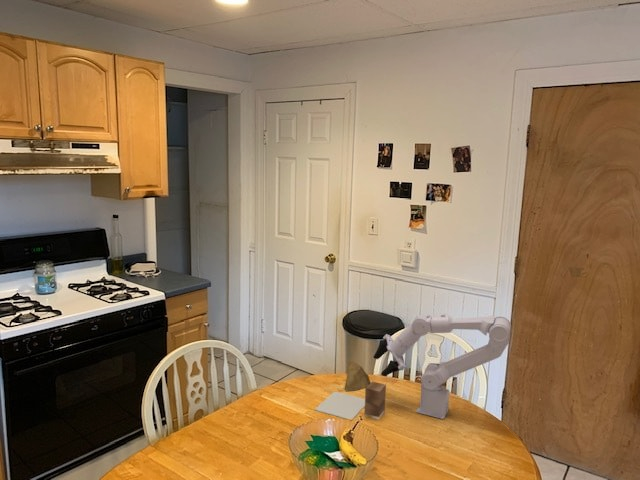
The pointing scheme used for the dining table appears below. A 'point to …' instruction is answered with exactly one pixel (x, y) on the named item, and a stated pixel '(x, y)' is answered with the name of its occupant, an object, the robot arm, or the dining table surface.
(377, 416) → the walnut block
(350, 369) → the rock
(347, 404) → the board
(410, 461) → the dining table surface
